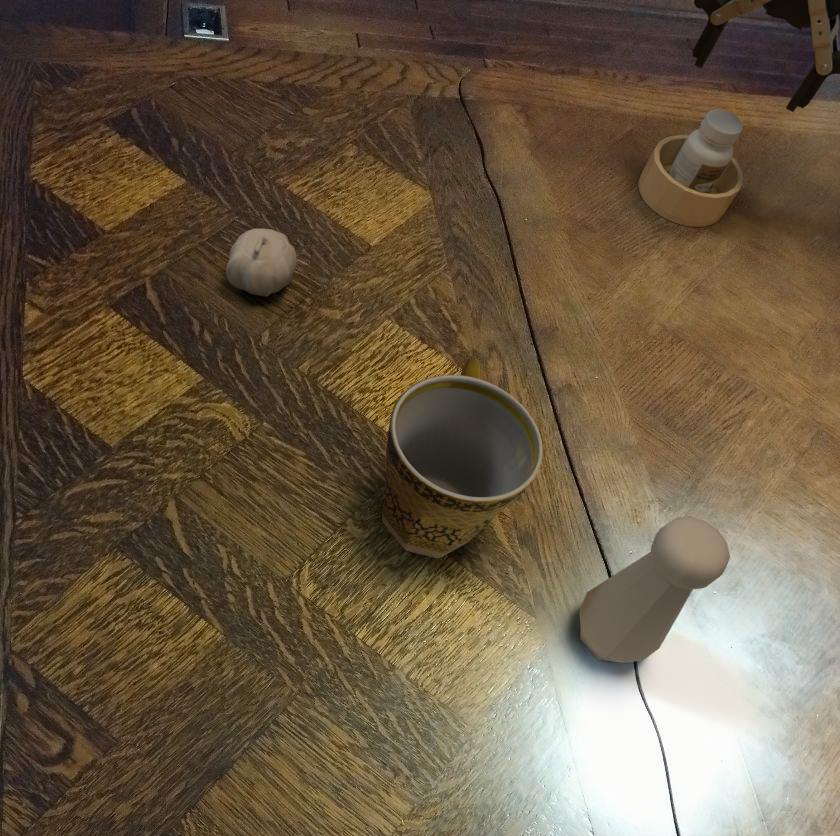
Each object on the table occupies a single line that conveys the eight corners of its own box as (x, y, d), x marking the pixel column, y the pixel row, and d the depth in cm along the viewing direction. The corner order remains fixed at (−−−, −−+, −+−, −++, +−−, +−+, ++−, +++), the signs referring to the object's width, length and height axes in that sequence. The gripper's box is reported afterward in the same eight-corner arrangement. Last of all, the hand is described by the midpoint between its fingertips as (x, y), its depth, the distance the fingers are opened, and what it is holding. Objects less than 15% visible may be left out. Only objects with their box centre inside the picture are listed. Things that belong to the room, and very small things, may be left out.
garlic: (252, 319, 78) (260, 270, 74) (209, 278, 80) (214, 228, 75) (307, 288, 81) (318, 240, 76) (264, 249, 82) (272, 199, 78)
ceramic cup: (488, 593, 68) (539, 517, 60) (348, 560, 68) (380, 479, 60) (501, 447, 75) (549, 361, 67) (374, 417, 75) (406, 326, 67)
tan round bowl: (703, 165, 98) (721, 134, 95) (738, 227, 94) (758, 197, 91) (625, 165, 96) (641, 134, 93) (657, 228, 92) (674, 198, 89)
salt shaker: (552, 612, 69) (634, 512, 57) (618, 588, 70) (710, 488, 59) (595, 686, 66) (690, 597, 55) (663, 660, 68) (767, 568, 57)
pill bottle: (688, 213, 93) (730, 143, 86) (652, 186, 94) (691, 115, 87) (714, 196, 95) (758, 127, 88) (679, 170, 96) (719, 99, 89)
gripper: (968, -97, 72) (831, 100, 86) (788, -175, 74) (683, 29, 88) (952, -56, 68) (811, 143, 82) (762, -140, 70) (656, 68, 84)
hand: (745, 84), depth 85 cm, fingers open, 8 cm apart
